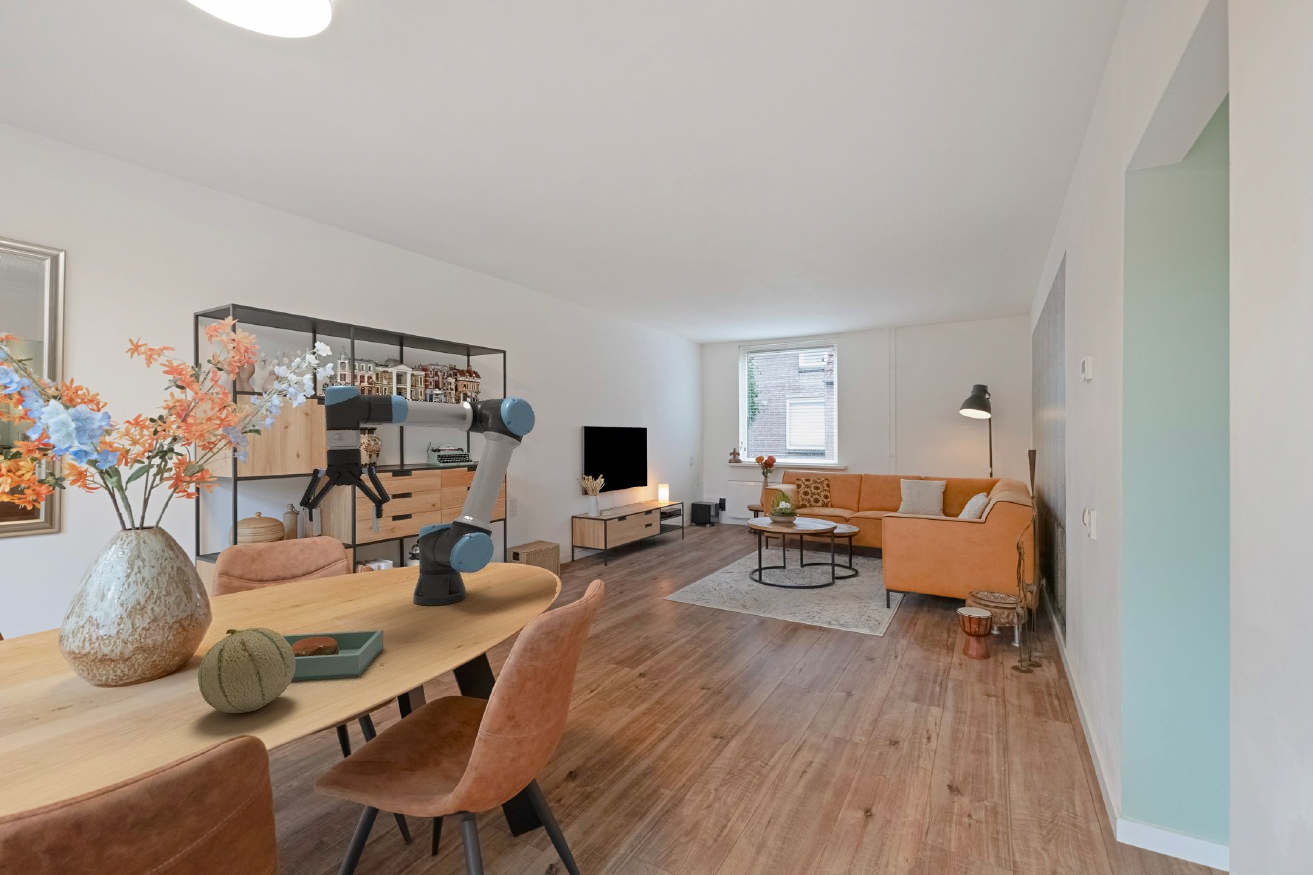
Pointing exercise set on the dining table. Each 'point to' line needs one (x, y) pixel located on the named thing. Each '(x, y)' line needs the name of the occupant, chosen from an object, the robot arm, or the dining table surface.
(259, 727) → the dining table surface
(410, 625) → the dining table surface
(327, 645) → the burger
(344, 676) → the teal tray
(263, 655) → the cantaloupe
